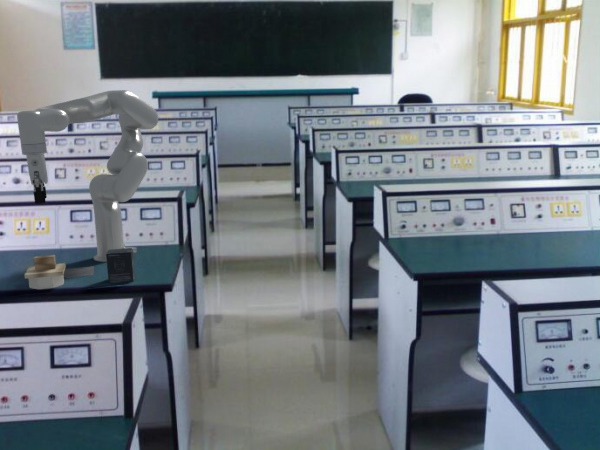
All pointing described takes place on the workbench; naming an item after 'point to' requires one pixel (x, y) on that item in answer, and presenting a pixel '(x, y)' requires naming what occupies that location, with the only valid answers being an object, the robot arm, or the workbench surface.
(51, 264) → the beige plate with ridge
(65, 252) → the workbench surface
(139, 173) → the robot arm
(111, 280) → the box
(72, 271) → the mat
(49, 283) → the bowl
